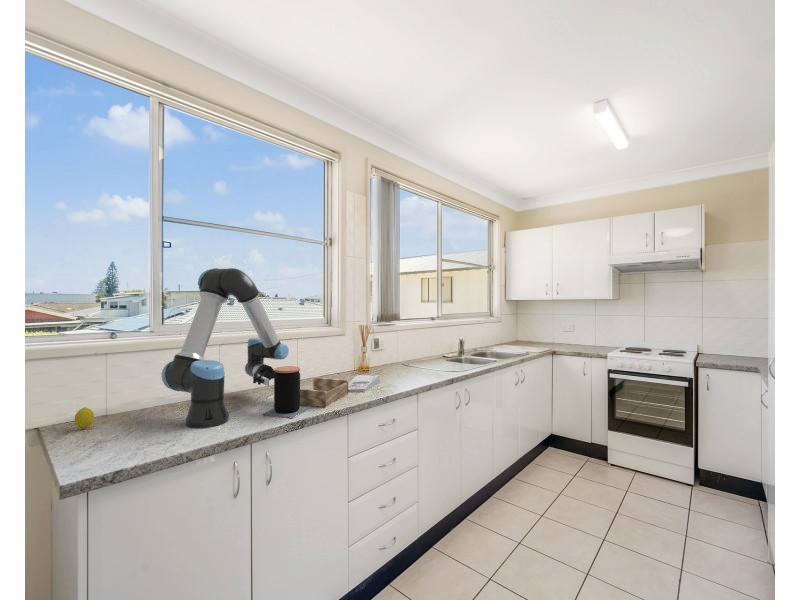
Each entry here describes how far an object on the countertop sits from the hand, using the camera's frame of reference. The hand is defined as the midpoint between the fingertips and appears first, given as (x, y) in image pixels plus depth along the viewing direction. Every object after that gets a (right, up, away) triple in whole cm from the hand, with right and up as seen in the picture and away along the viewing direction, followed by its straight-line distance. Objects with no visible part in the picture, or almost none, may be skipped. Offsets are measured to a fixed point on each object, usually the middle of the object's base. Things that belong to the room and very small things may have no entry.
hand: (283, 380), depth 168 cm
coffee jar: (+3, -12, -4) cm, 13 cm away
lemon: (-65, -13, -27) cm, 71 cm away
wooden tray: (+11, -13, +18) cm, 25 cm away
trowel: (+31, -13, +41) cm, 53 cm away
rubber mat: (+3, -13, -4) cm, 13 cm away
